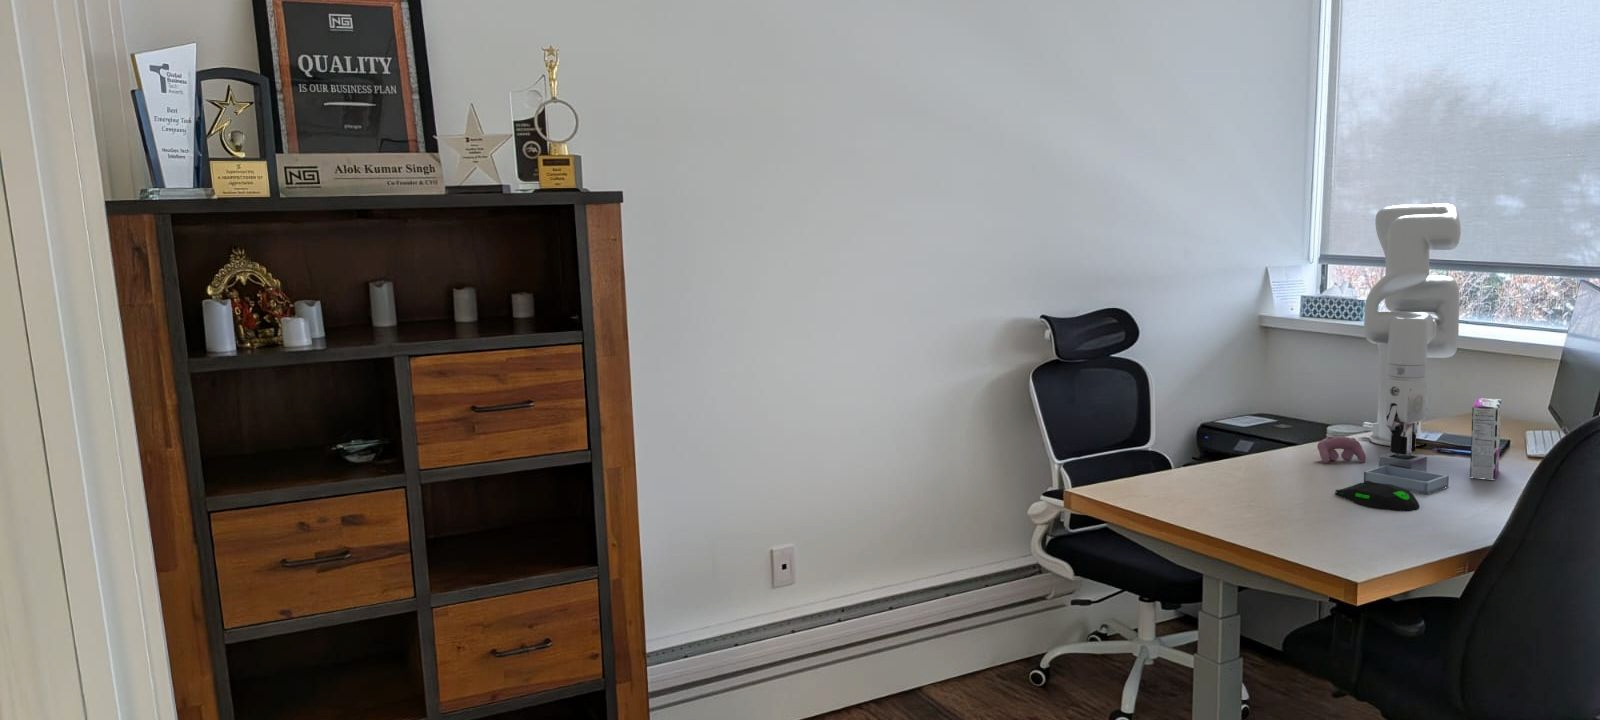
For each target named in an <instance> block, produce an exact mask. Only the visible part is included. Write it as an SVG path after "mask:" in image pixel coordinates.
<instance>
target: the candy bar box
mask: <svg viewBox="0 0 1600 720" xmlns="http://www.w3.org/2000/svg"><path fill="white" fill-rule="evenodd" d="M1471 409H1472V411H1471V412H1472V414H1471V416H1472V417H1471V438H1470V439H1471V444H1470V447H1471V448H1470V451H1471V452H1470V467H1469V469H1470V471H1469V477H1473V478H1485V479H1495V478H1496V479H1497V476H1498V472H1499V467H1500V445H1501V443H1500V440H1501V439H1500V438H1501V421H1502V420H1501V415H1502V399H1500V398H1483V397H1477V398H1476V399H1475V401H1474V404H1473V405H1472V408H1471ZM1473 478H1472V479H1473ZM1496 479H1495V480H1496Z"/></svg>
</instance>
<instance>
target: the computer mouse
mask: <svg viewBox="0 0 1600 720" xmlns="http://www.w3.org/2000/svg"><path fill="white" fill-rule="evenodd" d="M1334 496H1337V497H1339V498H1342V499H1344V498H1345V500H1347V501H1349V502H1351V503H1354V504H1355V505H1357V506H1361V507H1365V508H1369V509H1374V510H1379V511H1380V510H1381V511H1383V510H1384V511H1393V512H1413V510H1415V511H1417V510H1419V509H1420V504H1419V501H1418V500H1417V498H1416V496H1415V495H1414V492H1410V491H1408V490H1406V489H1404V488H1401V487H1398V486H1394V485H1391V484H1380V483H1372V482H1371V481H1365V482H1359V483H1356V484H1354V485H1350V486H1347V487H1344V488H1340V489H1335V491H1334Z"/></svg>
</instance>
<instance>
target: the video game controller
mask: <svg viewBox="0 0 1600 720" xmlns="http://www.w3.org/2000/svg"><path fill="white" fill-rule="evenodd" d="M1316 447H1317V450H1318V452H1319V455H1320V459H1321V460H1322V461H1323V463H1324V464H1329V461H1336V460H1338V459H1339V457H1340V455H1341V459H1343V460H1344V461H1350V460H1352V458H1353V456H1355V457H1356V458H1357V460H1358V461H1360V463H1362V464H1364V463H1365V462H1366V460H1367V455H1366V453H1365V451H1364V449H1363V447H1362V444H1361V443H1360V442H1359V441H1358V440H1356V438H1355V437H1347V436H1343V435H1340V436H1338V435H1336V436H1334V435H1333V436H1330V437H1327V438H1323V439H1321V440H1320V441H1319V442H1318V443H1317V446H1316ZM1338 449H1339V450H1343V451H1341V453H1339V452H1338V451H1337V450H1338Z"/></svg>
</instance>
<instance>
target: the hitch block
mask: <svg viewBox="0 0 1600 720" xmlns="http://www.w3.org/2000/svg"><path fill="white" fill-rule="evenodd" d="M1427 462H1428V457H1427V456H1424V455H1418V454H1412V453H1411V459H1409V460H1406V459H1400V458H1395V453H1392V452H1390V453H1387V454H1386V453H1385V454H1382V455H1378V467H1381V466H1384V465H1388V466H1394V467H1400V468H1406V469H1412V470H1418V471H1424V472H1427V465H1428V463H1427Z"/></svg>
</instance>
